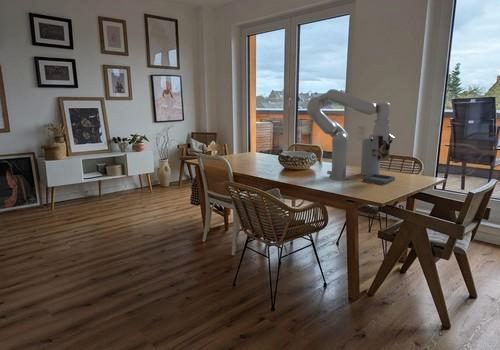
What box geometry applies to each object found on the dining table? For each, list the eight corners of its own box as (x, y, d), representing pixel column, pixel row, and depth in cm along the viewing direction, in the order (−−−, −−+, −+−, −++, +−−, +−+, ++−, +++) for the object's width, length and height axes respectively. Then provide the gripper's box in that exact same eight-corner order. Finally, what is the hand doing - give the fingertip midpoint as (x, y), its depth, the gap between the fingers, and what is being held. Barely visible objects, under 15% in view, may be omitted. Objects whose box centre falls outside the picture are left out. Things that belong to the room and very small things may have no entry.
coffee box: (378, 161, 221) (379, 136, 217) (371, 160, 226) (372, 135, 223) (389, 160, 224) (391, 135, 220) (382, 158, 230) (383, 134, 226)
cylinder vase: (359, 175, 244) (360, 140, 239) (362, 172, 255) (364, 138, 250) (377, 177, 239) (380, 141, 233) (380, 173, 249) (382, 138, 244)
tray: (362, 181, 228) (362, 177, 227) (373, 177, 239) (373, 173, 238) (384, 184, 218) (384, 181, 217) (394, 180, 229) (394, 176, 228)
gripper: (366, 122, 223) (365, 149, 227) (393, 123, 211) (391, 151, 215) (372, 121, 228) (370, 147, 232) (398, 122, 216) (396, 150, 220)
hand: (380, 149), depth 224 cm, fingers closed on coffee box, 8 cm apart
